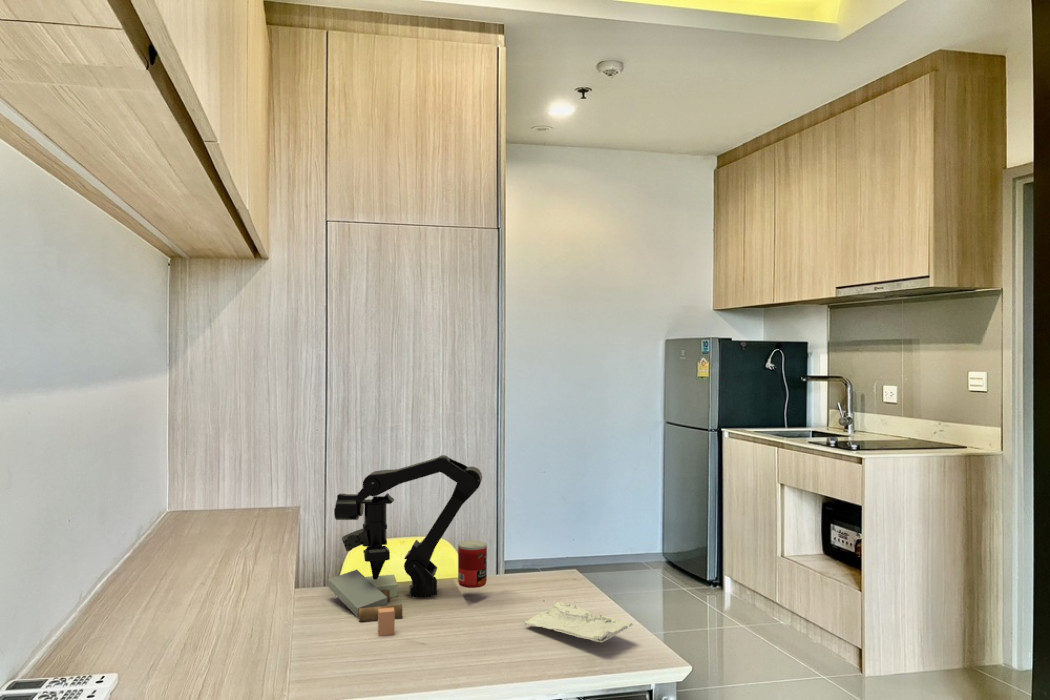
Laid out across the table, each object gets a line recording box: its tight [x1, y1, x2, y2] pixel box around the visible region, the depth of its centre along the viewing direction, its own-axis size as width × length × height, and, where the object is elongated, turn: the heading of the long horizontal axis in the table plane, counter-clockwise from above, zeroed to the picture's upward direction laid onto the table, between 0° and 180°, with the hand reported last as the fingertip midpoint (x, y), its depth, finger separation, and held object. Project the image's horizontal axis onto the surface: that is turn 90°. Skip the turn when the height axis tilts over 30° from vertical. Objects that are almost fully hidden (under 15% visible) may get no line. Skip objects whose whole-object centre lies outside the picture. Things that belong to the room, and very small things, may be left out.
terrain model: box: [524, 601, 633, 643], centre depth 166 cm, size 17×23×5 cm
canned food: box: [457, 540, 488, 589], centre depth 196 cm, size 8×8×11 cm
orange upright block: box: [377, 607, 396, 637], centre depth 161 cm, size 4×2×5 cm
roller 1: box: [380, 590, 391, 603], centre depth 181 cm, size 11×3×3 cm
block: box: [365, 574, 399, 598], centre depth 188 cm, size 11×9×3 cm
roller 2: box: [358, 604, 403, 623], centre depth 170 cm, size 10×3×3 cm
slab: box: [327, 569, 388, 618], centre depth 178 cm, size 8×16×2 cm, turn 40°
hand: (375, 579), depth 187 cm, fingers closed
